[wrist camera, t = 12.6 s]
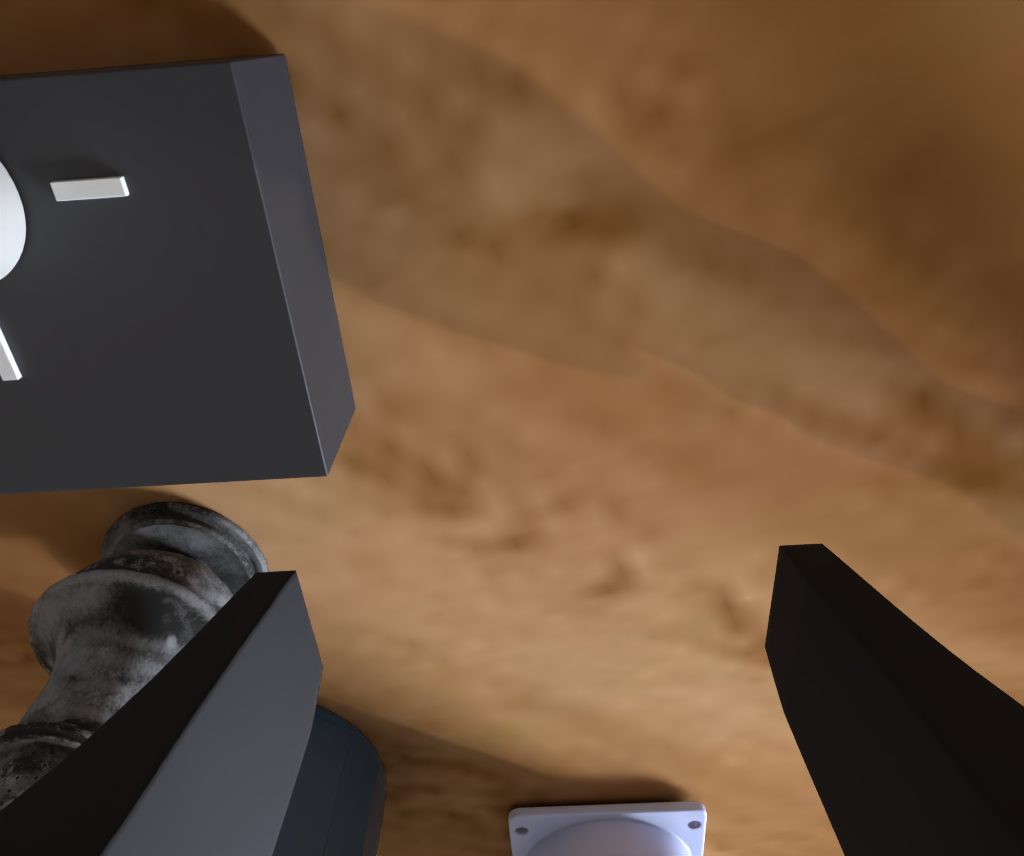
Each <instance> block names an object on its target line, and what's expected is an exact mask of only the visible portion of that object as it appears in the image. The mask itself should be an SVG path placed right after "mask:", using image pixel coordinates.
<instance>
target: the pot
mask: <svg viewBox="0 0 1024 856" xmlns="http://www.w3.org/2000/svg"><path fill="white" fill-rule="evenodd" d="M385 784H386V778H385V771H384V767H383V764H382V762H381V759H380V757H379V755H378V753H377V752H376V750H375V748H374V747H373V746H372V744H371V743H370V742H369V741H368V739H367V738H366V737H365V736H364V735H363V734H362V733H361V732H360V731H358V730H357V729H356V728H355V727H353V726H352V725H351V724H350V723H348V722H347V721H345V720H344V719H342V718H341V717H339V716H337V715H336V714H334V713H332V712H330V711H328V710H326V709H324V708H322V707H319V706H317V705H316V709H315V714H314V719H313V724H312V729H311V733H310V737H309V740H308V743H307V747H306V750H305V753H304V756H303V760H302V763H301V766H300V769H299V772H298V776H297V779H296V782H295V785H294V788H293V792H292V795H291V798H290V801H289V804H288V807H287V810H286V814H285V817H284V820H283V823H282V826H281V829H280V832H279V835H278V839H277V842H276V845H275V848H274V851H273V854H272V856H376V853H377V847H378V841H379V835H380V829H381V823H382V817H383V811H384V805H385V799H386V791H385Z"/></svg>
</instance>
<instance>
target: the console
mask: <svg viewBox="0 0 1024 856" xmlns="http://www.w3.org/2000/svg"><path fill="white" fill-rule="evenodd" d="M0 162H1V163H2V165H3V166H4V167H5V169H6V170H7V172H8V173H9V175H10V177H11V179H12V180H13V182H14V184H15V186H16V189H17V191H18V193H19V196H20V199H21V202H22V205H23V209H24V214H25V221H26V237H25V243H24V247H23V251H22V253H21V256H20V258H19V260H18V262H17V263H16V265H15V266H14V268H13V269H12V270H11V271H10V272H9V273H8V274H7V275H6V276H5V277H3V278H2V279H1V280H0V494H16V493H34V492H52V491H69V490H87V489H105V488H123V487H141V486H159V485H176V484H194V483H212V482H230V481H248V480H266V479H283V478H301V477H319V476H327V475H328V474H329V471H330V469H331V466H332V464H333V461H334V459H335V457H336V454H337V452H338V449H339V447H340V445H341V442H342V440H343V437H344V435H345V432H346V430H347V428H348V425H349V423H350V420H351V418H352V416H353V413H354V411H355V404H354V399H353V394H352V389H351V384H350V379H349V374H348V369H347V364H346V359H345V354H344V349H343V344H342V339H341V334H340V329H339V324H338V319H337V314H336V309H335V304H334V299H333V294H332V289H331V284H330V279H329V274H328V269H327V264H326V259H325V254H324V249H323V244H322V239H321V234H320V229H319V224H318V219H317V214H316V209H315V204H314V199H313V194H312V189H311V184H310V179H309V174H308V169H307V164H306V159H305V153H304V148H303V143H302V138H301V133H300V128H299V123H298V118H297V113H296V108H295V103H294V98H293V93H292V88H291V83H290V78H289V73H288V68H287V63H286V58H285V55H284V54H270V55H257V56H245V57H232V58H219V59H206V60H194V61H181V62H168V63H156V64H143V65H130V66H117V67H105V68H92V69H79V70H66V71H54V72H41V73H28V74H15V75H3V76H0Z"/></svg>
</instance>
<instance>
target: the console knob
mask: <svg viewBox="0 0 1024 856" xmlns="http://www.w3.org/2000/svg"><path fill="white" fill-rule="evenodd" d="M25 237H26V221H25V214H24V209H23V205H22V202H21V199H20V196H19V193H18V191H17V189H16V186H15V184H14V182H13V180H12V179H11V177H10V175H9V173H8V172H7V170H6V169H5V167H4V166H3V165H2V163H1V162H0V280H1V279H2V278H3V277H5V276H6V275H7V274H8V273H9V272H10V271H11V270H12V269H13V268H14V266H15V265H16V263H17V262H18V260H19V258H20V256H21V253H22V251H23V247H24V243H25Z"/></svg>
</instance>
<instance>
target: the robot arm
mask: <svg viewBox="0 0 1024 856" xmlns="http://www.w3.org/2000/svg"><path fill="white" fill-rule="evenodd" d="M765 648H766V652H767V656H768V659H769V663H770V667H771V670H772V674H773V677H774V681H775V684H776V688H777V691H778V694H779V698H780V701H781V704H782V708H783V711H784V714H785V716H786V718H787V721H788V723H789V726H790V728H791V731H792V733H793V735H794V738H795V740H796V742H797V745H798V747H799V750H800V752H801V754H802V757H803V759H804V761H805V764H806V766H807V769H808V771H809V773H810V776H811V778H812V780H813V783H814V785H815V787H816V790H817V792H818V794H819V797H820V799H821V801H822V804H823V806H824V808H825V811H826V813H827V815H828V818H829V820H830V822H831V825H832V827H833V829H834V832H835V834H836V836H837V839H838V841H839V843H840V846H841V848H842V850H843V853H844V855H845V856H1024V706H1022V705H1021V704H1019V703H1018V702H1017V701H1015V700H1014V699H1013V698H1011V697H1010V696H1009V695H1007V694H1006V693H1005V692H1003V691H1002V690H1000V689H999V688H998V687H996V686H995V685H994V684H992V683H991V682H990V681H988V680H987V679H986V678H984V677H983V676H982V675H980V674H979V673H977V672H976V671H975V670H973V669H972V668H971V667H970V666H968V665H967V664H966V663H964V662H963V661H962V660H961V659H959V658H958V657H957V656H955V655H954V654H953V653H952V652H950V651H949V650H948V649H947V648H945V647H944V646H943V645H942V644H940V643H939V642H938V641H937V640H935V639H934V638H933V637H932V636H930V635H929V634H928V633H927V632H925V631H924V630H923V629H922V628H921V627H919V626H918V625H917V624H916V623H914V622H913V621H912V620H911V619H910V618H908V617H907V616H906V615H905V614H904V613H902V612H901V611H900V610H899V609H898V608H896V607H895V606H894V605H893V604H892V603H891V602H889V601H888V600H887V599H886V598H885V597H884V596H882V595H881V594H880V593H879V592H878V591H877V590H875V589H874V588H873V587H872V586H871V585H870V584H868V583H867V582H866V581H865V580H864V579H863V578H862V577H860V576H859V575H858V574H857V573H856V572H855V571H853V570H852V569H851V568H850V567H849V566H848V565H846V564H845V563H844V562H843V561H842V560H841V559H840V558H838V557H837V556H836V555H835V554H834V553H832V552H831V551H830V550H829V549H828V548H826V547H825V546H824V545H823V544H805V545H785V546H779V553H778V560H777V567H776V574H775V581H774V588H773V595H772V601H771V608H770V615H769V622H768V629H767V636H766V643H765ZM322 669H323V665H322V662H321V658H320V655H319V651H318V648H317V644H316V641H315V637H314V633H313V630H312V626H311V623H310V619H309V616H308V612H307V608H306V605H305V601H304V598H303V594H302V591H301V587H300V584H299V580H298V576H297V573H296V571H277V572H258V573H255V574H254V575H253V576H252V577H251V578H250V579H249V580H248V581H247V582H246V583H245V584H244V585H243V586H242V587H241V588H240V589H239V590H238V591H237V592H236V593H235V594H234V596H233V597H232V598H231V599H230V600H229V601H228V602H227V603H226V604H225V605H224V606H223V607H222V608H221V609H220V610H219V611H218V612H217V613H216V614H215V615H214V616H213V617H212V618H211V619H210V621H209V622H208V623H207V624H206V625H205V626H204V627H203V628H202V629H201V630H200V631H199V632H198V633H197V634H196V635H195V636H194V637H193V638H192V639H191V640H190V641H189V642H188V643H187V644H186V645H185V646H184V647H183V648H182V649H181V650H180V651H179V652H178V653H177V654H176V655H175V656H174V657H173V658H172V659H171V660H170V661H169V662H168V663H167V664H166V665H165V666H164V667H163V668H162V669H161V670H160V671H159V672H158V673H157V674H156V675H155V676H154V677H153V678H152V679H151V680H150V681H149V682H148V683H147V684H146V685H145V686H144V687H143V688H142V689H141V690H139V691H138V692H137V693H136V694H135V695H134V696H133V697H132V698H131V699H130V700H129V701H128V702H127V703H126V704H124V705H123V706H122V707H121V708H120V709H119V710H118V711H117V712H116V713H115V714H114V715H113V716H112V717H110V718H109V719H108V720H107V721H106V722H105V723H104V724H103V725H102V726H101V727H100V728H99V729H98V730H96V731H95V732H94V733H93V734H92V735H91V736H90V737H89V738H88V739H87V740H85V741H84V742H83V743H82V744H81V745H80V746H79V747H77V748H76V749H75V750H74V751H73V752H72V753H70V754H69V755H68V756H67V757H66V758H65V759H63V760H62V761H61V762H60V763H59V764H58V765H56V766H55V767H54V768H53V769H52V770H50V771H49V772H48V773H47V774H45V775H44V776H43V777H42V778H40V779H39V780H38V781H37V782H35V783H34V784H33V785H32V786H31V787H29V788H28V789H27V790H26V791H24V792H23V793H22V794H21V795H19V796H18V797H17V798H16V799H14V800H13V801H12V802H11V803H9V804H8V805H7V806H6V807H4V808H3V809H2V810H0V856H272V854H273V851H274V848H275V845H276V842H277V839H278V835H279V832H280V829H281V826H282V823H283V820H284V817H285V814H286V810H287V807H288V804H289V801H290V798H291V795H292V792H293V788H294V785H295V782H296V779H297V776H298V772H299V769H300V766H301V763H302V760H303V756H304V753H305V750H306V747H307V743H308V740H309V737H310V733H311V729H312V724H313V719H314V714H315V709H316V704H317V698H318V692H319V687H320V681H321V675H322ZM706 819H707V814H706V810H705V806H704V805H703V804H702V803H700V802H698V801H682V802H656V803H630V804H604V805H577V806H551V807H525V808H516V809H513V810H512V811H511V812H510V813H509V831H510V840H511V848H512V856H703V847H704V838H705V829H706Z"/></svg>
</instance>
